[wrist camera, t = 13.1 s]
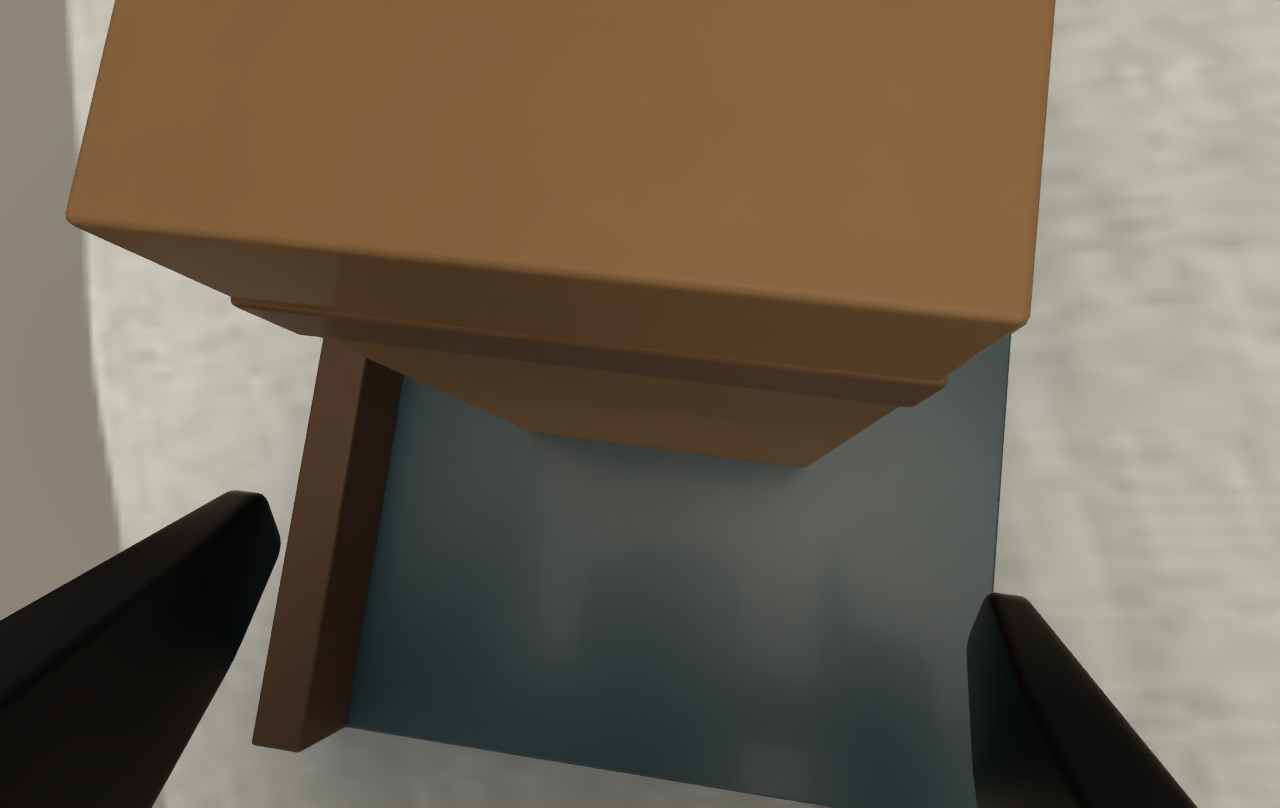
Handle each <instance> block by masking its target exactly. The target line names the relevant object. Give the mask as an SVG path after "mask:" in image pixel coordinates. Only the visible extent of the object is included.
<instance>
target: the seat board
mask: <svg viewBox="0 0 1280 808" xmlns="http://www.w3.org/2000/svg"><path fill="white" fill-rule="evenodd" d="M1010 343H1011V334H1010V335H1009V336H1007V337H1006V338H1004V339H1003V340H1001V341H999V342H998V343H996V344H995V345H993V346H992V347H990V348H989V349H987V350H986V351H984V352H983V353H981V354H979V355H978V356H976V357H975V358H973V359H972V360H970V361H969V362H967V363H966V364H964V365H963V366H961V367H959V368H958V369H956V370H955V371H953V372H952V373H950V374H949V382H948V384H947V386H946V388H944V389H942V390H941V391H939V392H937V393H936V394H934V395H932V396H931V397H929V398H927V399H926V400H924V401H922V402H921V403H919V404H917V405H916V406H913V407H902V406H900V407H898V408H897V409H895V410H893V411H892V412H890V413H889V414H887V415H886V416H884V417H883V418H881V419H880V420H878V421H877V422H875V423H873V424H872V425H870V426H869V427H867V428H866V429H864V430H863V431H861V432H860V433H858V434H857V435H855V436H854V437H852V438H850V439H849V440H847V441H846V442H844V443H843V444H841V445H840V446H838V447H837V448H835V449H834V450H832V451H830V452H829V453H827V454H826V455H824V456H823V457H821V458H820V459H818V460H817V461H815V462H814V463H812V464H810V465H809V466H807V467H806V468H799V467H791V466H784V465H776V464H768V463H761V462H753V461H745V460H738V459H730V458H722V457H715V456H707V455H699V454H691V453H684V452H676V451H668V450H661V449H653V448H645V447H638V446H630V445H622V444H615V443H607V442H599V441H591V440H584V439H576V438H568V437H561V436H553V435H545V434H538V433H532V432H530V431H527V430H525V429H523V428H521V427H518V426H516V425H514V424H512V423H510V422H507V421H505V420H503V419H501V418H499V417H496V416H494V415H492V414H490V413H487V412H485V411H483V410H481V409H479V408H476V407H474V406H472V405H470V404H468V403H465V402H463V401H461V400H459V399H456V398H454V397H452V396H450V395H448V394H445V393H443V392H441V391H439V390H437V389H434V388H432V387H430V386H428V385H425V384H423V383H421V382H419V381H417V380H414V379H412V378H410V377H408V376H406V375H403V374H401V373H399V372H397V371H394V370H392V369H390V368H388V367H386V366H383V365H381V364H379V363H377V362H374V361H372V360H370V359H368V358H366V357H363V356H361V355H359V354H357V353H355V352H352V351H350V350H348V349H346V348H343V347H341V346H339V345H337V344H335V343H332V342H330V341H328V340H326V339H324V338H323V344H322V350H321V355H320V361H319V367H318V372H317V378H316V384H315V389H314V395H313V401H312V406H311V412H310V417H309V423H308V429H307V434H306V440H305V446H304V451H303V457H302V463H301V468H300V474H299V480H298V485H297V491H296V497H295V502H294V508H293V513H292V519H291V525H290V530H289V536H288V542H287V547H286V553H285V559H284V564H283V570H282V576H281V581H280V587H279V593H278V598H277V604H276V610H275V615H274V621H273V626H272V632H271V638H270V643H269V649H268V655H267V660H266V666H265V672H264V677H263V683H262V689H261V694H260V700H259V706H258V711H257V717H256V722H255V728H254V734H253V739H252V744H253V745H256V746H262V747H268V748H274V749H280V750H286V751H292V752H301V751H302V750H304V749H306V748H308V747H310V746H312V745H313V744H315V743H317V742H319V741H321V740H323V739H324V738H326V737H328V736H330V735H332V734H334V733H335V732H337V731H339V730H341V729H343V728H345V727H349V728H355V729H361V730H367V731H373V732H379V733H385V734H392V735H398V736H404V737H410V738H416V739H422V740H428V741H434V742H440V743H446V744H452V745H458V746H464V747H470V748H476V749H482V750H489V751H495V752H501V753H507V754H513V755H519V756H525V757H531V758H537V759H543V760H549V761H555V762H561V763H567V764H573V765H580V766H586V767H592V768H598V769H604V770H610V771H616V772H622V773H628V774H634V775H640V776H646V777H652V778H658V779H664V780H670V781H677V782H683V783H689V784H695V785H701V786H707V787H713V788H719V789H725V790H731V791H737V792H743V793H749V794H755V795H761V796H768V797H774V798H780V799H786V800H792V801H798V802H804V803H810V804H816V805H822V806H828V807H834V808H978V807H977V801H976V794H975V787H974V780H973V767H972V751H971V732H970V714H969V695H968V676H967V658H966V651H967V641H968V637H969V634H970V631H971V629H972V627H973V624H974V622H975V619H976V617H977V614H978V612H979V609H980V607H981V605H982V602H983V600H984V598H985V597H986V596H987V595H988V594H990V593H993V586H994V572H995V557H996V543H997V529H998V515H999V500H1000V486H1001V472H1002V457H1003V443H1004V429H1005V415H1006V400H1007V386H1008V372H1009V357H1010Z"/></svg>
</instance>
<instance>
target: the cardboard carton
mask: <svg viewBox="0 0 1280 808" xmlns="http://www.w3.org/2000/svg"><path fill="white" fill-rule="evenodd" d="M1054 12H1055V0H115V3H114V8H113V12H112V16H111V21H110V25H109V29H108V33H107V38H106V42H105V46H104V51H103V55H102V59H101V63H100V68H99V72H98V76H97V81H96V85H95V89H94V93H93V98H92V102H91V106H90V111H89V115H88V119H87V123H86V128H85V132H84V136H83V140H82V145H81V149H80V153H79V158H78V162H77V166H76V170H75V175H74V179H73V183H72V188H71V192H70V197H69V201H68V205H67V209H66V220H67V221H68V222H69V223H70V224H72V225H74V226H75V227H78V228H80V229H82V230H84V231H86V232H89V233H91V234H93V235H95V236H98V237H100V238H102V239H104V240H106V241H109V242H111V243H113V244H115V245H118V246H120V247H122V248H124V249H126V250H129V251H131V252H133V253H135V254H137V255H140V256H142V257H144V258H146V259H149V260H151V261H153V262H155V263H157V264H160V265H162V266H164V267H166V268H168V269H171V270H173V271H175V272H177V273H180V274H182V275H184V276H186V277H188V278H191V279H193V280H195V281H197V282H199V283H202V284H204V285H206V286H208V287H211V288H213V289H215V290H217V291H219V292H222V293H224V294H226V295H228V296H230V297H231V303H232V304H233V305H234V306H236V307H237V308H240V309H242V310H244V311H247V312H249V313H251V314H254V315H256V316H258V317H260V318H263V319H265V320H267V321H270V322H272V323H274V324H277V325H279V326H281V327H283V328H286V329H288V330H290V331H293V332H295V333H297V334H300V335H308V336H316V337H321V338H324V339H326V340H328V341H330V342H332V343H335V344H337V345H339V346H341V347H343V348H346V349H348V350H350V351H352V352H355V353H357V354H359V355H361V356H363V357H366V358H368V359H370V360H372V361H374V362H377V363H379V364H381V365H383V366H386V367H388V368H390V369H392V370H394V371H397V372H399V373H401V374H403V375H406V376H408V377H410V378H412V379H414V380H417V381H419V382H421V383H423V384H425V385H428V386H430V387H432V388H434V389H437V390H439V391H441V392H443V393H445V394H448V395H450V396H452V397H454V398H456V399H459V400H461V401H463V402H465V403H468V404H470V405H472V406H474V407H476V408H479V409H481V410H483V411H485V412H487V413H490V414H492V415H494V416H496V417H499V418H501V419H503V420H505V421H507V422H510V423H512V424H514V425H516V426H518V427H521V428H523V429H525V430H527V431H530V432H532V433H538V434H545V435H553V436H561V437H568V438H576V439H584V440H591V441H599V442H607V443H615V444H622V445H630V446H638V447H645V448H653V449H661V450H668V451H676V452H684V453H691V454H699V455H707V456H715V457H722V458H730V459H738V460H745V461H753V462H761V463H768V464H776V465H784V466H791V467H799V468H806V467H807V466H809V465H810V464H812V463H814V462H815V461H817V460H818V459H820V458H821V457H823V456H824V455H826V454H827V453H829V452H830V451H832V450H834V449H835V448H837V447H838V446H840V445H841V444H843V443H844V442H846V441H847V440H849V439H850V438H852V437H854V436H855V435H857V434H858V433H860V432H861V431H863V430H864V429H866V428H867V427H869V426H870V425H872V424H873V423H875V422H877V421H878V420H880V419H881V418H883V417H884V416H886V415H887V414H889V413H890V412H892V411H893V410H895V409H897V408H898V407H900V406H902V407H913V406H916V405H917V404H919V403H921V402H922V401H924V400H926V399H927V398H929V397H931V396H932V395H934V394H936V393H937V392H939V391H941V390H942V389H944V388H946V386H947V384H948V382H949V374H950V373H952V372H953V371H955V370H956V369H958V368H959V367H961V366H963V365H964V364H966V363H967V362H969V361H970V360H972V359H973V358H975V357H976V356H978V355H979V354H981V353H983V352H984V351H986V350H987V349H989V348H990V347H992V346H993V345H995V344H996V343H998V342H999V341H1001V340H1003V339H1004V338H1006V337H1007V336H1009V335H1010V334H1012V333H1013V332H1015V331H1016V330H1018V329H1019V328H1021V327H1022V326H1024V325H1026V323H1027V321H1028V319H1029V318H1030V310H1031V298H1032V286H1033V273H1034V261H1035V248H1036V236H1037V223H1038V211H1039V199H1040V186H1041V174H1042V161H1043V149H1044V136H1045V124H1046V112H1047V99H1048V87H1049V74H1050V62H1051V49H1052V37H1053V25H1054Z"/></svg>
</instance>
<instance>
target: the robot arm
mask: <svg viewBox="0 0 1280 808" xmlns="http://www.w3.org/2000/svg"><path fill="white" fill-rule="evenodd" d="M280 545H281V542H280V535H279V532H278V529H277V526H276V523H275V521H274V518H273V515H272V512H271V509H270V506H269V503H268V501H267V499H266V498H265V497H264V496H263V495H262V494H259V493H253V492H246V491H238V490H234V491H229V492H227V493H225V494H223V495H221V496H219V497H217V498H216V499H214V500H212V501H210V502H209V503H207V504H205V505H203V506H202V507H200V508H198V509H196V510H195V511H193V512H191V513H189V514H187V515H186V516H184V517H182V518H180V519H179V520H177V521H175V522H173V523H172V524H170V525H168V526H166V527H165V528H163V529H161V530H159V531H158V532H156V533H154V534H152V535H151V536H149V537H147V538H145V539H143V540H142V541H140V542H138V543H136V544H135V545H133V546H131V547H129V548H128V549H126V550H124V551H122V552H121V553H119V554H117V555H115V556H114V557H112V558H110V559H109V560H107V561H105V562H103V563H101V564H100V565H98V566H96V567H95V568H93V569H91V570H89V571H87V572H85V573H84V574H82V575H80V576H78V577H77V578H75V579H73V580H71V581H70V582H68V583H66V584H64V585H63V586H61V587H59V588H57V589H56V590H54V591H52V592H51V593H49V594H47V595H45V596H43V597H41V598H40V599H38V600H36V601H34V602H33V603H31V604H29V605H27V606H26V607H24V608H22V609H20V610H18V611H17V612H15V613H13V614H11V615H10V616H8V617H6V618H4V619H3V620H1V621H0V808H152V806H153V804H154V803H155V801H156V799H157V797H158V795H159V794H160V792H161V790H162V788H163V786H164V785H165V783H166V781H167V779H168V777H169V776H170V774H171V772H172V770H173V768H174V767H175V765H176V763H177V761H178V759H179V758H180V756H181V754H182V752H183V750H184V749H185V747H186V745H187V743H188V742H189V740H190V738H191V736H192V734H193V733H194V731H195V729H196V727H197V725H198V724H199V722H200V720H201V718H202V716H203V715H204V713H205V711H206V709H207V707H208V706H209V704H210V702H211V700H212V698H213V697H214V695H215V693H216V691H217V689H218V688H219V686H220V684H221V682H222V680H223V679H224V677H225V675H226V673H227V671H228V669H229V667H230V665H231V664H232V662H233V660H234V658H235V655H236V653H237V651H238V649H239V647H240V645H241V643H242V640H243V638H244V636H245V633H246V631H247V628H248V626H249V624H250V621H251V619H252V617H253V614H254V612H255V610H256V607H257V605H258V603H259V600H260V598H261V596H262V593H263V591H264V589H265V586H266V584H267V582H268V579H269V577H270V575H271V572H272V570H273V567H274V565H275V563H276V560H277V558H278V555H279V552H280ZM966 658H967V676H968V695H969V714H970V732H971V751H972V767H973V780H974V787H975V794H976V801H977V807H978V808H1197V806H1196V805H1195V804H1194V803H1193V801H1192V800H1191V799H1190V798H1189V797H1188V795H1187V794H1186V793H1185V792H1184V790H1183V789H1182V788H1181V787H1180V786H1179V784H1178V783H1177V782H1176V781H1175V779H1174V778H1173V777H1172V776H1171V775H1170V773H1169V772H1168V771H1167V770H1166V768H1165V767H1164V766H1163V765H1162V763H1161V762H1160V761H1159V760H1158V759H1157V757H1156V756H1155V755H1154V754H1153V752H1152V751H1151V750H1150V749H1149V748H1148V746H1147V745H1146V744H1145V743H1144V741H1143V740H1142V739H1141V738H1140V737H1139V735H1138V734H1137V733H1136V732H1135V730H1134V729H1133V728H1132V727H1131V725H1130V724H1129V723H1128V722H1127V721H1126V719H1125V718H1124V717H1123V716H1122V714H1121V713H1120V712H1119V711H1118V710H1117V708H1116V707H1115V706H1114V705H1113V703H1112V702H1111V701H1110V700H1109V699H1108V697H1107V696H1106V695H1105V694H1104V692H1103V691H1102V690H1101V689H1100V688H1099V686H1098V685H1097V684H1096V683H1095V681H1094V680H1093V679H1092V678H1091V676H1090V675H1089V674H1088V673H1087V672H1086V670H1085V669H1084V668H1083V667H1082V665H1081V664H1080V663H1079V662H1078V661H1077V659H1076V658H1075V657H1074V656H1073V654H1072V653H1071V652H1070V651H1069V650H1068V648H1067V647H1066V646H1065V645H1064V643H1063V642H1062V641H1061V640H1060V638H1059V637H1058V636H1057V635H1056V634H1055V632H1054V631H1053V630H1052V629H1051V627H1050V626H1049V625H1048V624H1047V623H1046V621H1045V620H1044V619H1043V618H1042V616H1041V615H1040V614H1039V613H1038V612H1037V610H1036V609H1035V608H1034V607H1033V605H1032V604H1031V603H1030V602H1029V601H1028V600H1026V599H1025V598H1023V597H1021V596H1015V595H1007V594H1000V593H990V594H988V595H987V596H986V597H985V598H984V600H983V602H982V605H981V607H980V609H979V612H978V614H977V617H976V619H975V622H974V624H973V627H972V629H971V631H970V634H969V637H968V641H967V651H966Z"/></svg>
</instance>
